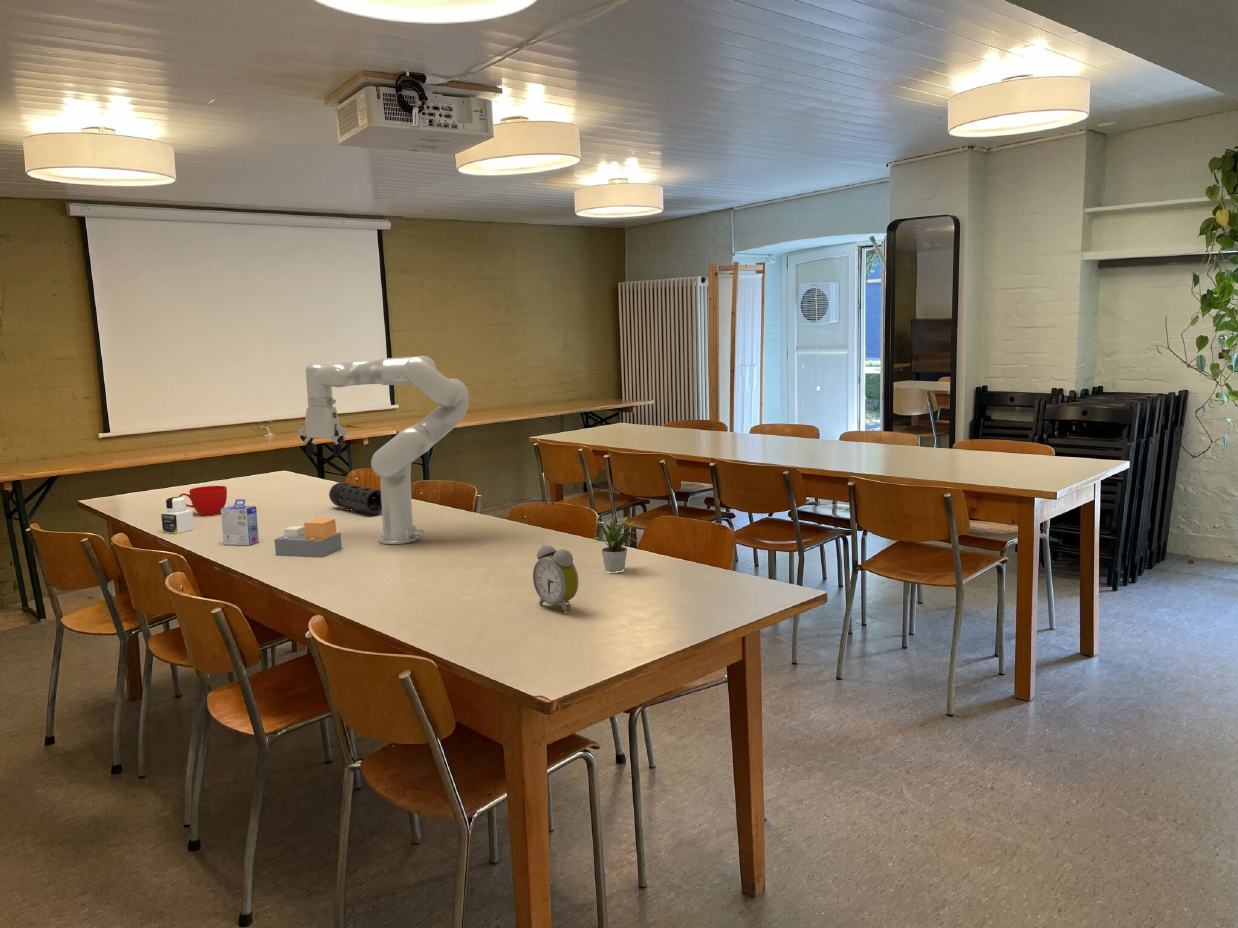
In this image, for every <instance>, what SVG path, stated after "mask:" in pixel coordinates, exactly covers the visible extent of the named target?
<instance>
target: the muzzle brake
mask: <svg viewBox="0 0 1238 928" xmlns="http://www.w3.org/2000/svg"><path fill="white" fill-rule="evenodd" d="M328 497H329V499H330V502H331V503H332V504H333V505H335V506H336V507H340V508H345V510H346V509H350V510H349V511H352V510H351V509H353V511H358V513H362V514H365V515H369V514H370V516H375V517H377V516H379V514H380V513H382V505H381V489H380V490H379V489H374V488H369V487H366V486H360V485H355V484H351V483H348V482H343V481H342V482H337V483H335V484H333V485H332V486H331V487H330V488H329V491H328Z"/></svg>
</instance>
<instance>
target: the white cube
mask: <svg viewBox="0 0 1238 928" xmlns="http://www.w3.org/2000/svg"><path fill="white" fill-rule="evenodd" d="M283 532H284V535H285V537H293V538H298V537H301V536H303V535H305V527H304V525H302V526H301V525H298V526H297V525H292V526H289V527H286V528H284V529H283Z"/></svg>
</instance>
